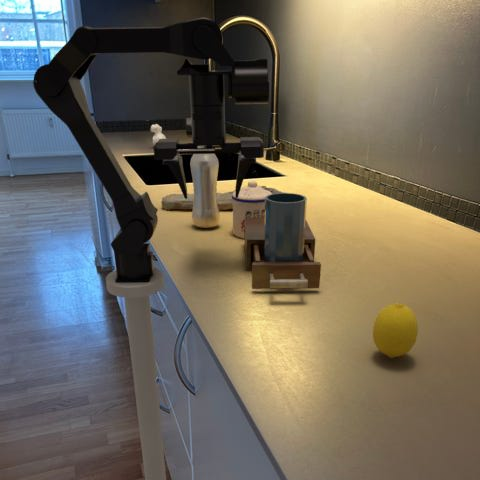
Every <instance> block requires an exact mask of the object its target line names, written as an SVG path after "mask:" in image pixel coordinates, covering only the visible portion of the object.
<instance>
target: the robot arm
mask: <svg viewBox="0 0 480 480" xmlns="http://www.w3.org/2000/svg"><path fill="white" fill-rule="evenodd" d="M223 41H224V38H223V33H222V30H221V28H220V26H219V25H218V23H216V22H215V20H213V19H212V18H209V17H203V16H202V17H197V18H193V19H188V20H184V21H180V22H176V23H172V24H168V25H164V26H127V27H125V26H123V27H118V26H117V27H116V26H115V27H91V26H87V25H83V26H79V27H77V28H76V29H75V30H74V32H73V34H72V35H71V37H70V38H69V39H68V41H67V42H66V43H65V44H64V45H63V46H62V47H61V48H60V49H59V51H57V52H56V54H54V56H53V57H52V58H51V60H50V62H48V63H45V64H43V65H40V66H39V67H38V68H37V69H36V70H35V72H34V75H33V81H32V85H33V89H34V91H35V93H36V94H37V96H38V97H39V99H41V101H42V102H43V103H44V104H45V106H46V107H47V109H48V110H50V112H52V113H53V114H54V115H55V116H56V117H57V118H58V119H59V120H61V121H62V123H64V124H65V125H66V127H67V128H68V130H69V131H70V133H71V134H72V136H73V139H74V140H75V141H76V143H77V145H78V146H79V148H80V150H81V152H82V153H83V155H84V156H85V158H86V160H87V161H88V163H89V165H90V167H91V168H92V170H93V172H94V173H95V174H96V176H97V178H98V179H99V181H100V183H101V185H102V186H103V188H104V190H105V191H106V193H107V194H108V196H109V198H110V199H111V202H112V206H113V209H114V214H115V218H116V220H117V223H118V226H119V230H118V232H117V233H116V235H115V236H114V238H113V239H112V241H111V243H110V246H111V248H112V250H113V254H114V262H115V270H116V272H117V277H116V279H115V282H116V283H135V282H149V281H150V279H151V276H153V274H154V268H155V261H154V260H155V259H154V252H153V251H152V250H151V247H150V246H151V245H150V243H148V241H150V240H151V238H152V237H153V235H154V233H155V231H156V228H157V225H158V223H159V217H158V215H157V214H158V211H159V209H158V208H157V207H156V206H155V205H154V203H153V202H152V200H151V198H150V195H149V192H148V191H145V192H144V193H142V194H140V193H139V192H138V191H137V190H136V189H135V188H134V187H133V186H132V185H131V183H130V181H129V179H128V177H127V175H126V174H125V172H124V170H123V168H122V167H121V165H120V164H119V161H118V159H117V158H116V156H115V154H114V152H112V150H111V148H110V146H109V144H108V143H107V140H106V139H105V138H104V135H103V134H102V132H101V130H100V129H99V127H98V125H97V123H96V122H95V120H94V118H93V117H92V115H91V111H90V108H89V103H88V99H87V96H86V93H85V91H84V88H83V85H82V83H81V80H82V79H83V77H84V76H85V75H86V73H87V72H88V71H89V68H90V67H91V65H92V63H93V62H94V61H95V58H96V57H97V56H98V55H99V54H100V55H101V54H102V55H104V54H150V53H151V54H153V53H154V54H162V53H163V54H171V55H177V56H180V57H187V58H186V59H184V61H183V64H182V65H181V66H180V68H179V69H177V71H176V75H177V76H188V82H189V83H188V84H189V85H188V86H189V102H190V117H185V135H186V137H187V139H189V138H191V140H192V142H180V138H166V139H159V140H158V141H157V143H156V144H155V145H153V157H154V160H156V161H162V166H168V167H169V169H170V171H171V172H172V174H173V176H174V177H175V179H176V182H177V184H178V186H179V189H180V191H181V194H183V196H184V198H185V199H187V194H188V186H187V181H186V176H185V171H184V162H183V156H182V155H193V154H215V155H217V154H238V159H237V169H236V170H237V171H236V180H235V189H234V190H235V192H236V198H238V195H239V192H240V189H242V187H243V186H242V185H243V183H244V179H245V176H246V175H247V172H248V170H249V168H250V166H251V164H256V163H257V159H262V158H264V157H265V154H264V153H265V145H264V141H263V139H262V138H261V137H260V136H240V138H239V140H240V141H228V142H227V130H226V129H227V128H226V115H225V114H226V113H225V111H226V109H225V107H226V106H225V105H226V103H225V76H226V75H227V83H228V84H227V90H228V91H227V93H228V99H232V100H234V104H235V105H268V104H269V102H270V80H269V69H268V58H257V59H250V60H247V59H246V60H245V59H244V60H234V59H233V54H231V53H229V52H228V51H227V49H226V48H225V46H224V44H223V43H224V42H223ZM188 58H192V59H198V60H204V61H205V60H212V61H213V62H215V64H217V65H219V66H220V67H231V70H211V66H210V65H211V64H210V63H192V62H191V61H190V59H188ZM197 146H204V148H198V147H197Z"/></svg>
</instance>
